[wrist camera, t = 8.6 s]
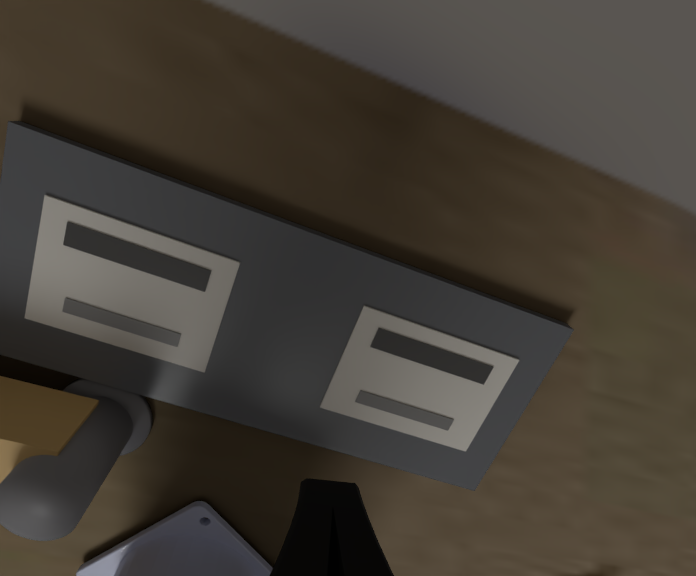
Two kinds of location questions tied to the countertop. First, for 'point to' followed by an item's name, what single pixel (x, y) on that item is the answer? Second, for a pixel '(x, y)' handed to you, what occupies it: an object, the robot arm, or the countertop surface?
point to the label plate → (253, 317)
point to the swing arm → (54, 456)
